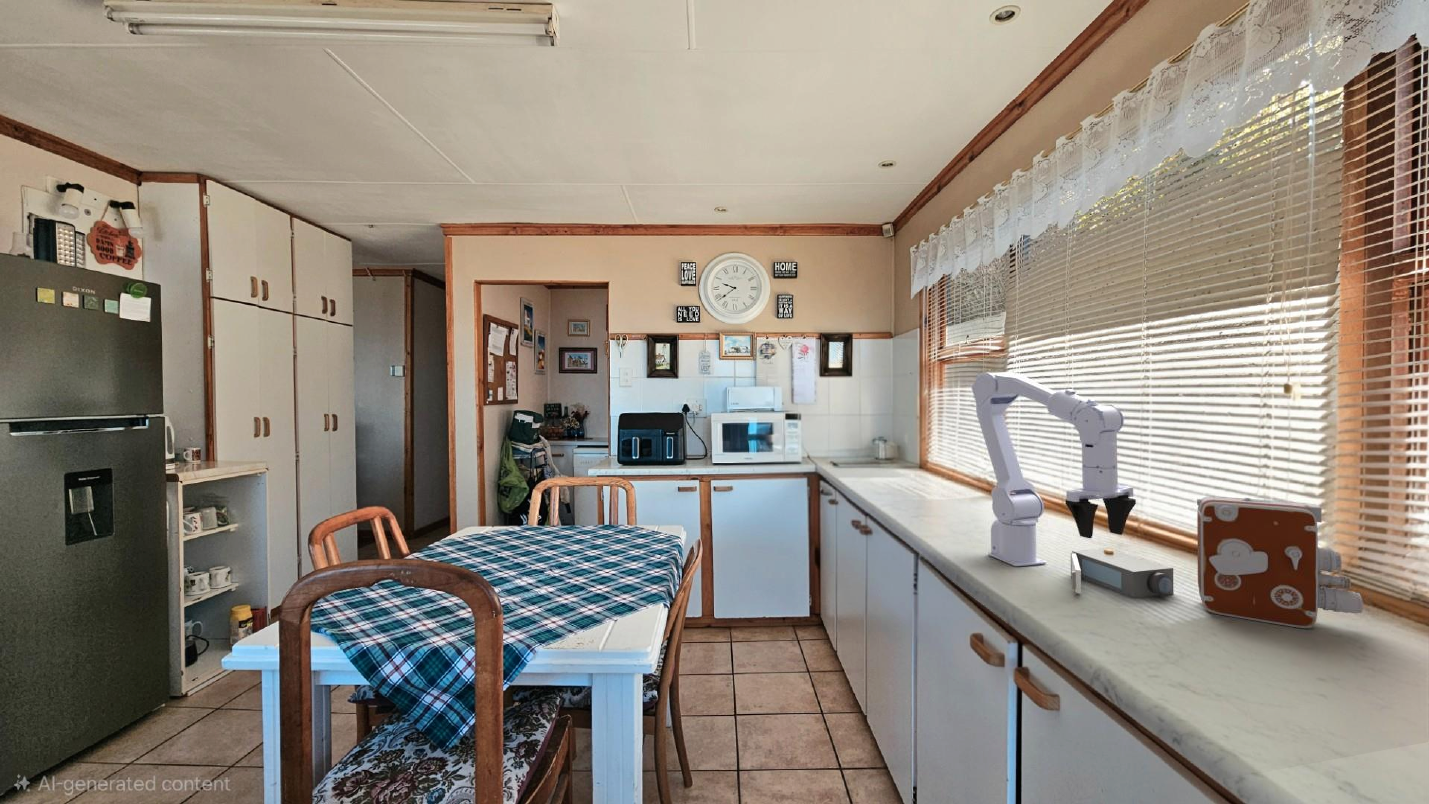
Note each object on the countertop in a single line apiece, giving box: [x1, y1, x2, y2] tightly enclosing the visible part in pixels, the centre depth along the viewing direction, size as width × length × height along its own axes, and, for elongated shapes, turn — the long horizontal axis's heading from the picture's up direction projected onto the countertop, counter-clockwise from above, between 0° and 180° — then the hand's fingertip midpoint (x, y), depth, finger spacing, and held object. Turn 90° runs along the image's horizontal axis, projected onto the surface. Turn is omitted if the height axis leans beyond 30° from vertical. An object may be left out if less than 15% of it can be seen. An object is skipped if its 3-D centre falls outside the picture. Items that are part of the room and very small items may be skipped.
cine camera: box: [1196, 495, 1364, 629], centre depth 93 cm, size 9×19×20 cm, turn 53°
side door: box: [1070, 552, 1082, 595], centre depth 111 cm, size 12×1×5 cm, turn 151°
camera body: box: [1071, 547, 1174, 599], centre depth 110 cm, size 16×9×6 cm, turn 11°
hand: (1101, 535), depth 109 cm, fingers open, 7 cm apart
